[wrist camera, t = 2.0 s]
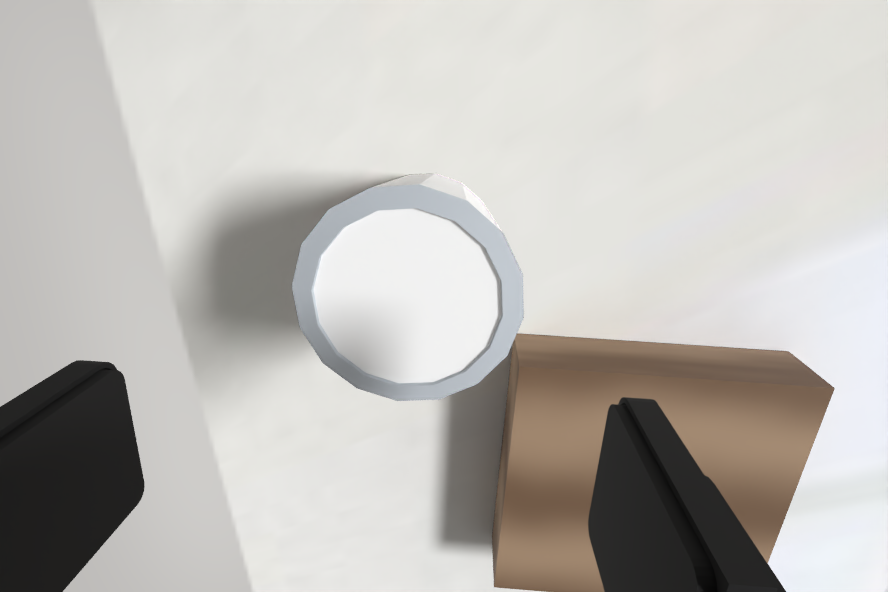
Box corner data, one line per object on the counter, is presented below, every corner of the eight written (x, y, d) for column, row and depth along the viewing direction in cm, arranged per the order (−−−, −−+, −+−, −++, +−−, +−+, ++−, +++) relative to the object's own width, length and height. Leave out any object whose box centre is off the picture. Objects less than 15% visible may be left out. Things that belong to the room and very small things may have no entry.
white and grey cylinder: (343, 304, 22) (289, 388, 16) (351, 145, 20) (291, 167, 13) (495, 325, 22) (504, 417, 16) (523, 168, 20) (547, 202, 13)
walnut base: (513, 333, 22) (519, 366, 20) (788, 351, 22) (834, 388, 19) (491, 536, 27) (494, 586, 24) (720, 554, 26) (750, 608, 24)
